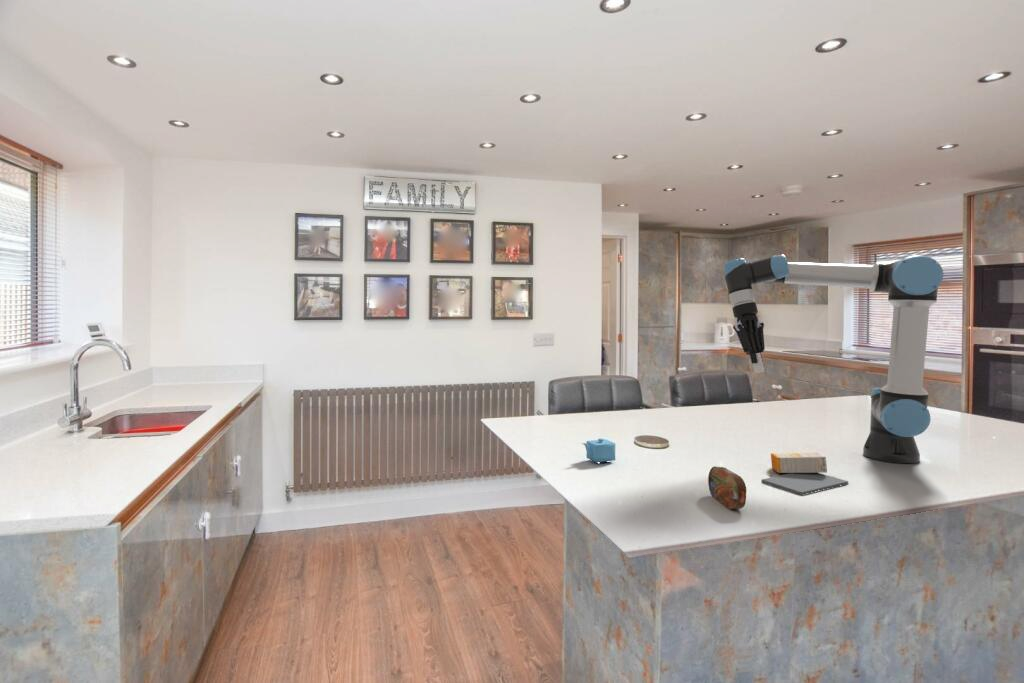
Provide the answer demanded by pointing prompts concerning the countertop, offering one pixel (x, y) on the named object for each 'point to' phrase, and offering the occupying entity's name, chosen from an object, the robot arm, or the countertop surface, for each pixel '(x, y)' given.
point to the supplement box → (799, 462)
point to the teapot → (600, 450)
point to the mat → (804, 482)
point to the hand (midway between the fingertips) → (759, 372)
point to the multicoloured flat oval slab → (727, 487)
